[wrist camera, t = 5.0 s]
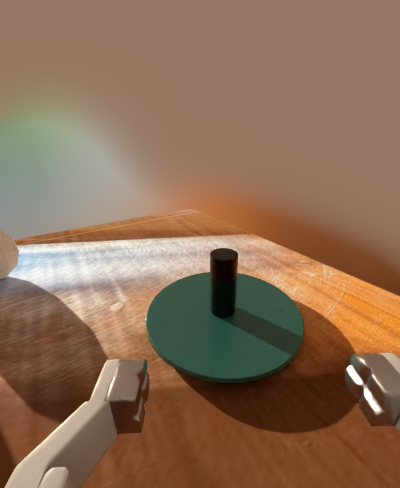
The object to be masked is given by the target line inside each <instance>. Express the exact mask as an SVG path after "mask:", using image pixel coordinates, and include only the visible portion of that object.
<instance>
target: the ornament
mask: <svg viewBox="0 0 400 488" xmlns="http://www.w3.org/2000/svg"><path fill="white" fill-rule="evenodd" d="M18 255H19V250H18V248H17V246H16V244H15V242H14V240H13V238H12V237H11V236H9V235H7V234H5V233H4V232H2V231H0V279H3V278H5V277H6V276H7V275H8V274H9V273H10V272H11V271H12V270H13V269H14V268H15V267H16V266H17V264H18Z"/></svg>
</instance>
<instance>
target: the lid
mask: <svg viewBox="0 0 400 488" xmlns="http://www.w3.org/2000/svg"><path fill="white" fill-rule="evenodd" d="M237 267H238V253H237V252H236V251H234V250H232V249H227V248H220V249H215V250H213V251H212V252H211V253H210V272H207V273H200V274H195V275H191V276H188V277H185V278H182V279H180V280H177V281H175V282H174V283H172V284H170V285H168V286H167V287H165V288H164V289H163V290H162V291H160V292H159V294H158V295H157V296H156V297H155V298H154V299H153V301H152V302H151V304H150V306H149V308H148V312H147V315H146V328H147V334H148V337H149V340H150V342H151V344H152V346H153V348H154V349H155V351H156V352H157V353H158V355H159V356H160V357H161V358H162V359H163V360H165V361H166V362H167V363H168V364H169V365H171V366H172V367H174V368H175V369H177V370H179V371H181V372H183V373H185V374H187V375H189V376H192V377H195V378H198V379H201V380H206V381H210V382H218V383H243V382H250V381H255V380H258V379H262V378H265V377H267V376H270V375H272V374H274V373H276V372H278V371H279V370H281V369H282V368H284V367H285V366H286V365H287V364H289V363H290V362H291V361H292V360H293V358H294V357H295V356H296V354H297V353H298V351H299V349H300V347H301V345H302V340H303V336H304V323H303V319H302V316H301V313H300V311H299V309H298V308H297V306H296V305H295V303H294V302H293V301H292V300H291V299H290V298H289V297H288V296H287V295H286V294H285V293H284V292H282V291H281V290H280V289H278V288H277V287H275V286H274V285H272V284H270V283H268V282H266V281H263V280H261V279H258V278H255V277H252V276H248V275H244V274H239V273H237Z"/></svg>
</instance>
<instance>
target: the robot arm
mask: <svg viewBox="0 0 400 488" xmlns="http://www.w3.org/2000/svg"><path fill="white" fill-rule="evenodd" d="M349 362H350V363H351V365H350V366H349V367H348V368H347V369H346V372H345V381H346V384H347V387H348V389H349V391H350V392H351V394H352V395H353V396H354V397H355V398H357V399H358V400H359V401H360V404H359V407H360V409H361V410H362V412H363V414H364V415H365V417H366V418H367V420H368V422H369V423H370V425H371V426H395V428H396V429H397V430H398V431H400V358H399V357H398V356H397V355H395V354H394V353H363V354H353V355H351V356H350V359H349ZM146 371H147V360H107V361H106V362H105V364H104V366H103V368H102V371H101V373H100V376H99V378H98V381H97V383H96V386H95V388H94V391H93V393H92V396H91V398H90V400H89V401H88V402H84V403H83V404H82V405H81V406H80V407H79V408H78V409H77V410H76V411H75V412H74V413H72V414H71V415H70V416H69V417H68V418H67V419H66V420H65V421H64V422H63V423H62V424H61V425H60V426H59V427H58V428H57V429H56V430H54V431H53V432H52V433H51V434H50V435H49V436H48V437H47V438H46V439H45V440H44V441H43V442H42V443H41V444H40V445H39V446H38V447H36V448H35V449H34V450H33V451H32V452H31V453H30V454H29V455H28V456H27V457H26V458H25V459H24V460H23V461H22V462H21V463H20V464H18V465H17V466H16V468H15V469H14V471H13V473H12V475H11V477H10V479H9V480H8V482H7V484H6V486H5V488H81V486H82V485H83V483H84V482H85V481H86V479H87V478H88V476H89V475H90V474H91V472H92V471H93V469H94V468H95V467H96V465H97V464H98V462H99V461H100V460H101V458H102V457H103V456H104V454H105V453H106V451H107V450H108V449H109V447H110V446H111V444H112V443H113V442H114V440H115V439H116V437H117V436H118V435H117V434H127V433H141V432H142V427H143V422H144V416H145V409H144V404H145V403H146V402H147V400H148V394H149V374H148V373H147V372H146Z"/></svg>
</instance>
